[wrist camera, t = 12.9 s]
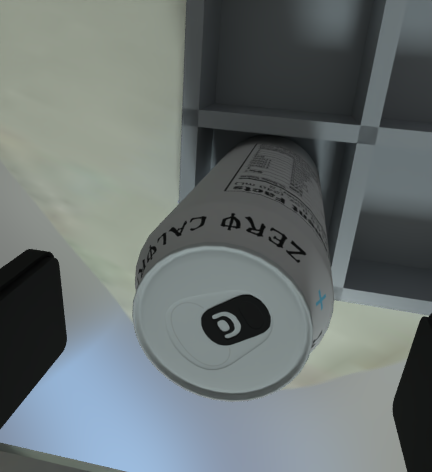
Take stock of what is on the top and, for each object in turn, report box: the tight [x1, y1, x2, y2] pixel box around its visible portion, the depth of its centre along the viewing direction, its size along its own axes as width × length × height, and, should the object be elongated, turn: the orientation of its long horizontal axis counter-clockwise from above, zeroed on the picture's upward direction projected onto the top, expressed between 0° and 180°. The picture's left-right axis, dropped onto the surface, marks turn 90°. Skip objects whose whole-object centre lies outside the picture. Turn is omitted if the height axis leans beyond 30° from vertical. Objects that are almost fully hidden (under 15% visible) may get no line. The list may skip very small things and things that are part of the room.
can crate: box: [179, 0, 432, 315], centre depth 21 cm, size 17×17×4 cm
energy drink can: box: [132, 135, 334, 402], centre depth 18 cm, size 6×6×15 cm
